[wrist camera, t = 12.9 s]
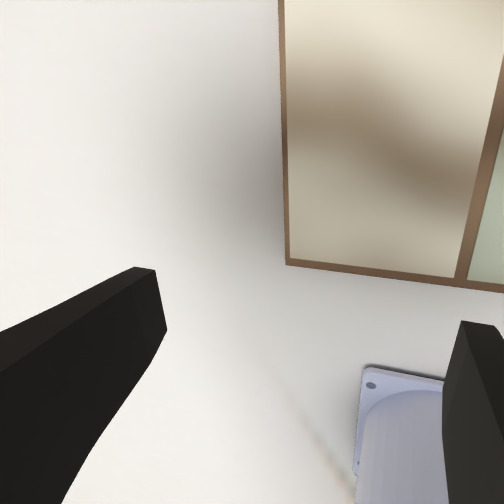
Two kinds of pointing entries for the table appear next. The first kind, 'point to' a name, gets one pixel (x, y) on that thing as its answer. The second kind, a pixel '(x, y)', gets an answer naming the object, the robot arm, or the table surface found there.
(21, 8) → the table surface
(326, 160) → the game track
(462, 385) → the robot arm
